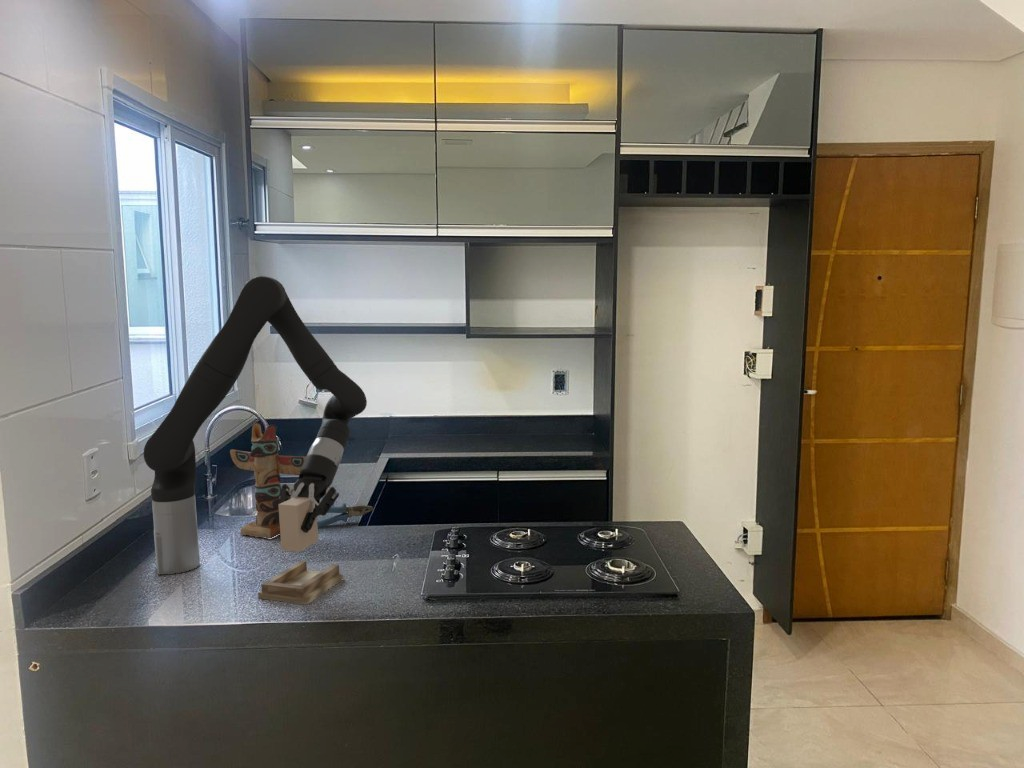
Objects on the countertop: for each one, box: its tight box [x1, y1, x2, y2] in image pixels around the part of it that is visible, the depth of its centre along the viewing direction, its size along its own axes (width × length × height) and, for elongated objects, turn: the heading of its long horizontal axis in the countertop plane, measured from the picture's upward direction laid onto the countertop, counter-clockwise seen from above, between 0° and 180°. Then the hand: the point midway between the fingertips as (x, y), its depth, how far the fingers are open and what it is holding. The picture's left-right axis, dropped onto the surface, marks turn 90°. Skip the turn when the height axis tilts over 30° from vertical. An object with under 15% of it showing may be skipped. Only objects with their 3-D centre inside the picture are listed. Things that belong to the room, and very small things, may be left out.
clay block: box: [278, 497, 319, 553], centre depth 152 cm, size 7×4×10 cm, turn 162°
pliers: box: [317, 502, 374, 529], centre depth 198 cm, size 20×2×6 cm, turn 115°
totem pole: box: [229, 422, 307, 538], centre depth 190 cm, size 29×7×30 cm, turn 65°
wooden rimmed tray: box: [257, 560, 344, 605], centre depth 153 cm, size 14×12×3 cm
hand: (293, 529), depth 150 cm, fingers closed on clay block, 4 cm apart
